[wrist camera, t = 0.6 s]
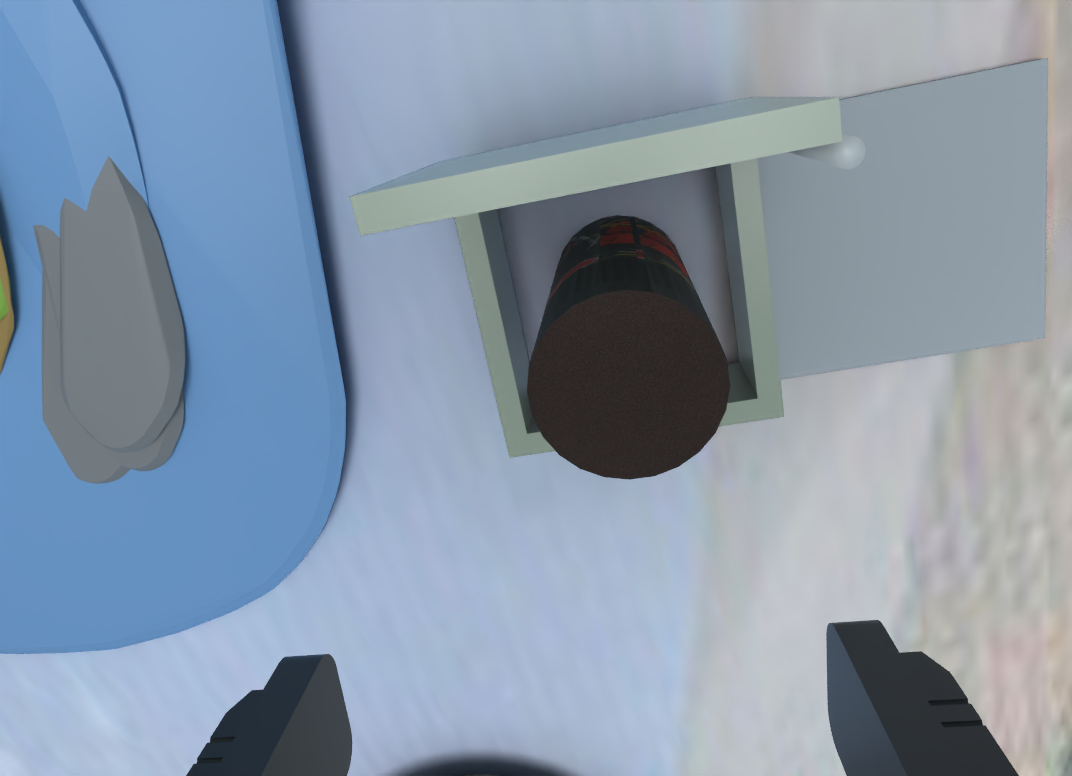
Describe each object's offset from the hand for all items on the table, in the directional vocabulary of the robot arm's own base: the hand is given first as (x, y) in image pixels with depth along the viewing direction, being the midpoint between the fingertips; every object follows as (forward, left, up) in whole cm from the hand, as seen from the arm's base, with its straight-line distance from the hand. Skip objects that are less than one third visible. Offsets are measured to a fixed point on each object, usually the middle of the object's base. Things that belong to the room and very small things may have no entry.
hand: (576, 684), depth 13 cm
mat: (-1, +14, -27) cm, 30 cm away
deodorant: (-1, +1, -27) cm, 27 cm away
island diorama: (-7, -33, -27) cm, 43 cm away
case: (-1, +1, -27) cm, 27 cm away
